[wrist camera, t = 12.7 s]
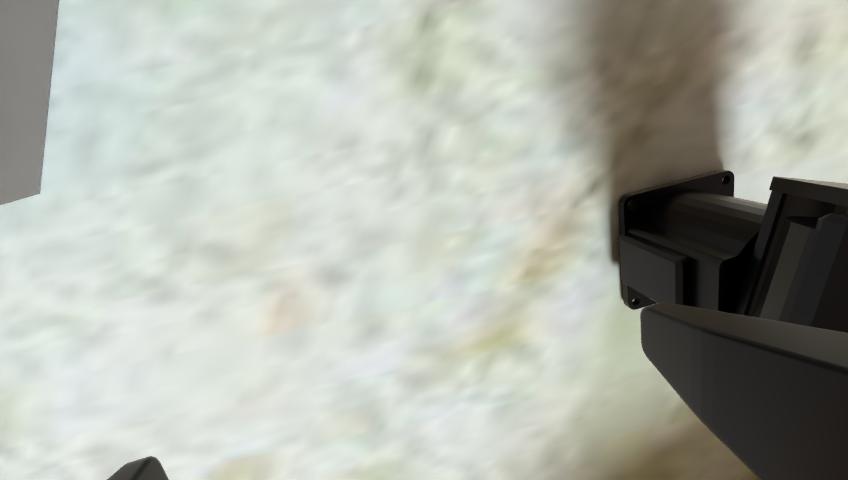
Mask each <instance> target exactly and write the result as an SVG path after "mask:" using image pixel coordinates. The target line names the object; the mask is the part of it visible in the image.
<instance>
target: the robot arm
mask: <svg viewBox="0 0 848 480" xmlns="http://www.w3.org/2000/svg"><path fill="white" fill-rule="evenodd" d="M723 177H724V179H723ZM722 179H723V182H722ZM769 190H772V192H771V195H770V198H769V201H768V204H763V203H758V202H754V201H749V200H744V199H740V198H735V197H734V174H733V173H732V172H731V171H727V170H718V171H714V172H710V173H706V174H702V175H698V176H694V177H691V178H687V179H683V180H679V181H675V182H671V183H667V184H663V185H659V186H656V187H652V188H648V189H644V190H640V191H636V192H632V193H628V194H626V195H623V197H622V198H621V199H620V201H619V224H620V240H619V246H620V265H621V281H622V282H623V301H624V304H625V305H626V306H628V307H629V308H631V309H639V308H642V307H644V308H643V309H642V311H641V314H640V319H641V343H642V348H643V351H644V353H645V355H646V356H647V358H648V359H649V360H650V361H651V362H652V364H653V365H654V366H655V367H656V368H657V370H658V371H659V372H660V373H661V374H662V376H663V377H664V378H665V379H666V380H667V382H668V383H669V384H670V385H671V386H672V387H673V389H674V390H675V391H676V392H677V393H678V395H679V396H680V397H681V398H682V399H683V401H684V402H685V403H686V404H687V405H688V407H689V408H690V409H691V410H692V411H693V412H694V413H695V415H696V416H697V417H698V418H699V419H700V420H701V421H702V422H703V423H704V424H705V425H706V426H707V428H708V429H709V430H710V431H711V432H712V433H713V434H714V435H715V436H716V437H717V438H718V439H719V440H720V441H721V442H722V443H723V444H724V445H725V446H726V447H727V448H728V449H729V450H730V451H731V452H732V453H733V454H734V455H735V456H737V457H738V458H739V459H740V460H741V461H742V462H743V463H744V464H745V465H746V466H747V467H748V468H749V469H750V470H751V471H752V472H753V473H754V474H755V475H756V476H757V477H758V478H759V479H760V480H848V184H845V183H835V182H825V181H814V180H804V179H794V178H784V177H773V179H772V182H771V185H770V189H769ZM630 201H632V203H631V206H630V207H629V208H628V203H629V202H630ZM635 297H636V298H635ZM634 298H635V300H634V301H633V302H632V300H633V299H634ZM655 303H656V304H655ZM652 304H653V305H652ZM649 305H650V306H649ZM645 306H646V307H645ZM107 480H169V479H168V477H167V475H166V473H165V471H164V469H163V467H162V465H161V463H160V462H159V460H158V459H157V458H156V457H152V456H149V457H146V458H143V459H139V460H136V461H133V462H129V463H127V464H125V465H124V466H123V467H121V468H120V469H119V470H118V471H117V472H116V473H114V474H113V475H112V476H111V477H110V478H109V479H107Z"/></svg>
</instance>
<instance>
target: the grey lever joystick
mask: <svg viewBox="0 0 848 480" xmlns="http://www.w3.org/2000/svg"><path fill="white" fill-rule="evenodd" d="M58 5H59V0H0V205H2V204H5V203H9V202H12V201H16V200H19V199H23V198H26V197H30V196H33V195H36V194H40V186H41V176H42V166H43V156H44V146H45V136H46V125H47V115H48V105H49V95H50V85H51V75H52V65H53V55H54V45H55V35H56V25H57V15H58Z"/></svg>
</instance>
